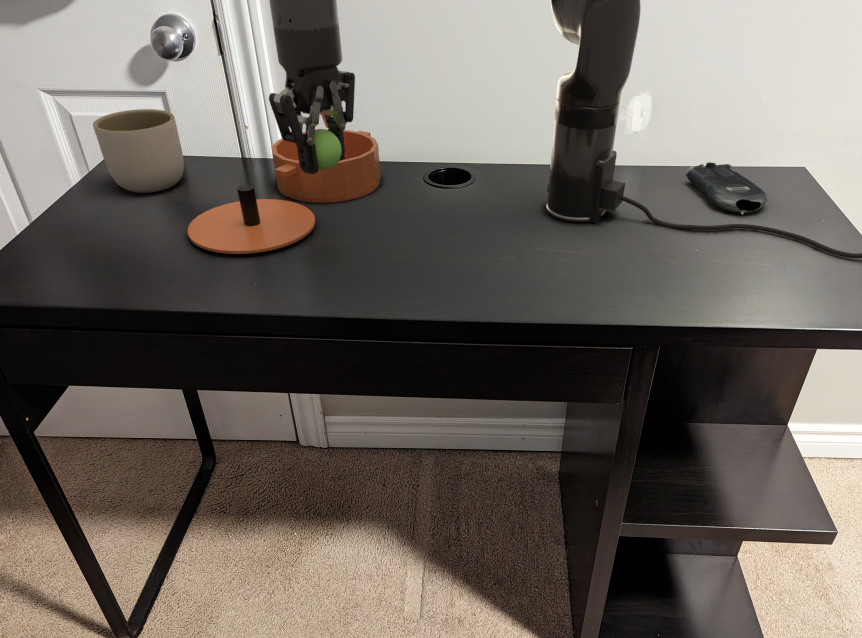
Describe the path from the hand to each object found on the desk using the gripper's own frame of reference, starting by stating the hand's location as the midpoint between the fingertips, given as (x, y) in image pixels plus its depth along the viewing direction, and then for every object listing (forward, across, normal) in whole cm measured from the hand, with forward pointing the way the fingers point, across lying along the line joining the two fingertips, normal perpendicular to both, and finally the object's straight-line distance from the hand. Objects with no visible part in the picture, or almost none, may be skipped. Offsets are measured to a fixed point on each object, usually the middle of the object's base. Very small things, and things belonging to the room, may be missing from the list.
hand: (324, 165), depth 89 cm
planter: (+13, +6, +44) cm, 46 cm away
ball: (-2, 0, 0) cm, 2 cm away
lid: (+12, +1, +16) cm, 20 cm away
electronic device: (+14, +50, -44) cm, 68 cm away
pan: (+13, +22, +18) cm, 31 cm away
